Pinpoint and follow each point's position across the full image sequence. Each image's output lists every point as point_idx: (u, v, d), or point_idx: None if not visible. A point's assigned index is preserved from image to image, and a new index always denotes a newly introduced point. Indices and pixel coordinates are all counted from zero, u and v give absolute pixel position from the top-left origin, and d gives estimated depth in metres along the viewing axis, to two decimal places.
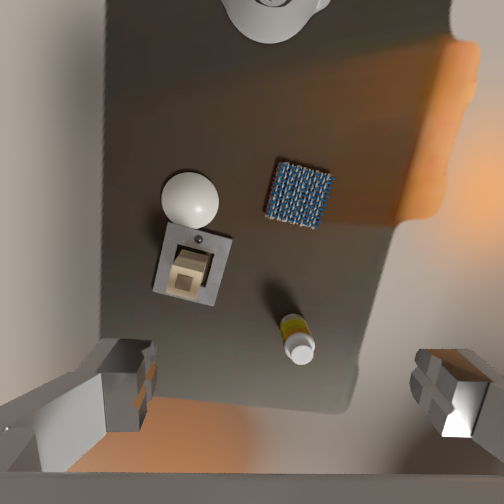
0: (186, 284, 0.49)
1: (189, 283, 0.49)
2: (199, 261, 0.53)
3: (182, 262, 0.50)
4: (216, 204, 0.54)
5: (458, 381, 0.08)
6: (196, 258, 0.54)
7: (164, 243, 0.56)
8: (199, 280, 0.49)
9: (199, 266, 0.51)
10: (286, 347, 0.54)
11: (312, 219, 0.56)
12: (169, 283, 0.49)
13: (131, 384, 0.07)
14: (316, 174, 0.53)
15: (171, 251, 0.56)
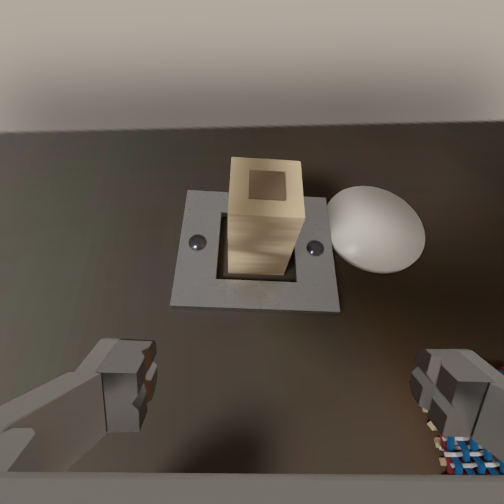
0: (264, 189, 0.20)
1: (269, 193, 0.20)
2: None
3: None
4: (391, 267, 0.28)
5: (458, 381, 0.08)
6: None
7: None
8: (282, 213, 0.20)
9: None
10: None
11: None
12: (255, 161, 0.22)
13: (131, 384, 0.07)
14: None
15: None
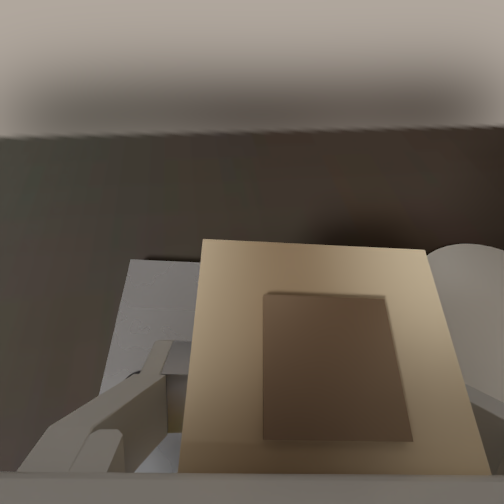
0: (326, 391, 0.05)
1: (347, 415, 0.05)
2: None
3: None
4: None
5: None
6: None
7: None
8: None
9: None
10: None
11: None
12: (282, 253, 0.07)
13: None
14: None
15: None
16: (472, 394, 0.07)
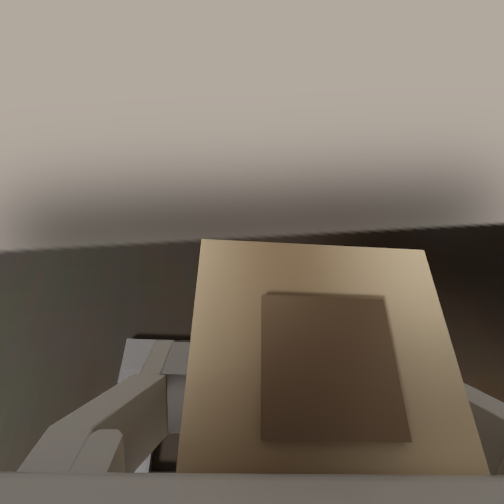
0: (325, 392, 0.05)
1: (345, 415, 0.05)
2: None
3: None
4: None
5: None
6: None
7: None
8: None
9: None
10: None
11: None
12: (281, 253, 0.07)
13: None
14: None
15: None
16: (472, 395, 0.07)
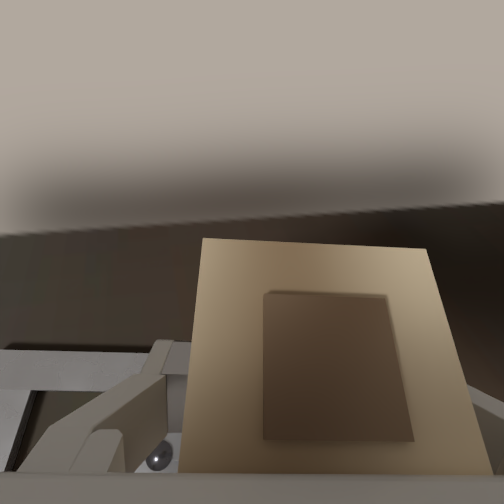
0: (327, 391, 0.05)
1: (347, 414, 0.05)
2: None
3: None
4: None
5: None
6: None
7: (136, 356, 0.21)
8: None
9: None
10: None
11: None
12: (283, 252, 0.07)
13: None
14: None
15: (115, 379, 0.21)
16: (472, 394, 0.07)
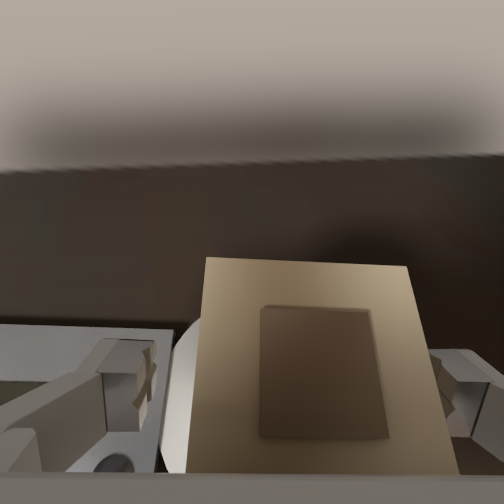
0: (315, 395, 0.06)
1: (332, 414, 0.06)
2: None
3: None
4: None
5: (458, 381, 0.08)
6: None
7: (88, 331, 0.15)
8: None
9: None
10: None
11: None
12: (278, 269, 0.07)
13: (131, 384, 0.07)
14: None
15: (53, 364, 0.14)
16: None
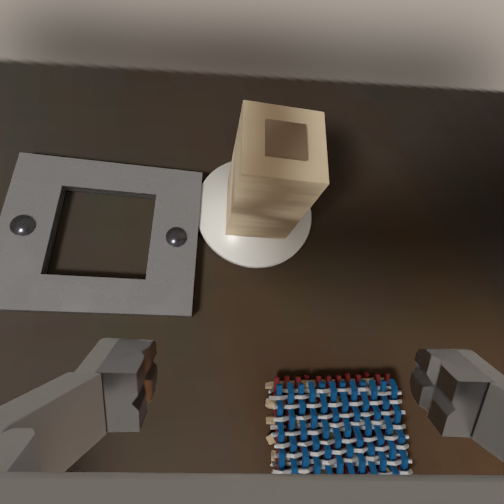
0: (284, 145, 0.17)
1: (289, 151, 0.17)
2: None
3: None
4: (264, 262, 0.24)
5: (458, 381, 0.08)
6: None
7: (152, 169, 0.25)
8: (304, 177, 0.17)
9: None
10: None
11: None
12: (272, 107, 0.18)
13: (131, 384, 0.07)
14: None
15: (135, 184, 0.24)
16: None
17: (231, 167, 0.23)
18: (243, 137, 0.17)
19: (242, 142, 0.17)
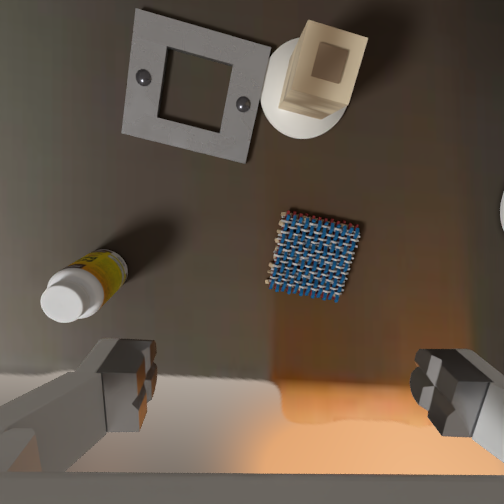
0: (326, 69, 0.24)
1: (328, 75, 0.25)
2: None
3: None
4: (300, 135, 0.34)
5: (458, 381, 0.08)
6: None
7: (232, 38, 0.31)
8: (332, 97, 0.25)
9: None
10: (70, 272, 0.30)
11: None
12: (328, 29, 0.24)
13: (131, 384, 0.07)
14: (343, 278, 0.39)
15: (218, 52, 0.32)
16: None
17: (293, 55, 0.30)
18: (299, 57, 0.24)
19: (298, 61, 0.24)
